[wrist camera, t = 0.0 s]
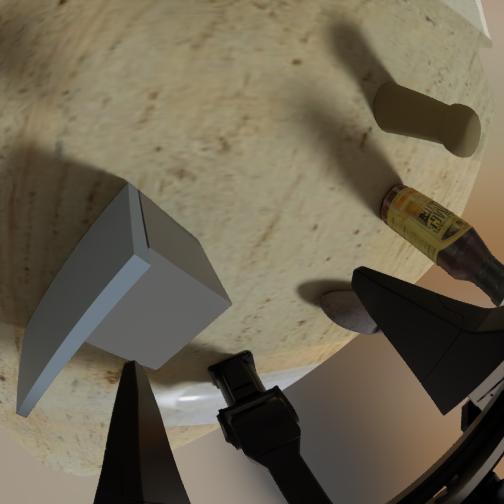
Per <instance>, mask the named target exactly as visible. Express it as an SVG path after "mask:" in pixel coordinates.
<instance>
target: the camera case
mask: <svg viewBox="0 0 504 504" xmlns="http://www.w3.org/2000/svg"><path fill="white" fill-rule="evenodd" d="M138 195H139V202H140V208H141V214H142V220H143V226H144V232H145V237H146V242H147V247H148V253H149V257H150V262H151V266H150V267H149V269H148V270H147V271H146V272H145V273H144V274H143V275H142V276H141V277H140V278H139V279H138V280H137V281H136V283H135V284H134V285H133V286H132V287H131V288H130V289H129V290H128V291H127V292H126V294H125V295H124V296H123V297H122V298H121V299H120V300H119V301H118V303H117V304H116V305H115V306H114V307H113V308H112V309H111V310H110V312H109V313H108V314H107V315H106V316H105V317H104V319H103V320H102V321H101V322H100V323H99V324H98V326H97V327H96V328H95V329H94V330H93V332H92V333H91V334H90V335H89V336H88V338H87V339H86V340H85V342H87V343H89V344H91V345H93V346H96V347H98V348H100V349H103V350H105V351H107V352H110V353H112V354H114V355H117V356H119V357H122V358H124V359H127V360H129V361H131V360H136V361H137V362H138V364H140V365H143V366H146V367H148V368H151V369H154V370H157V369H159V368H160V367H161V366H162V365H163V364H164V363H166V362H167V361H168V360H169V359H170V358H171V357H173V356H174V355H175V354H176V353H177V352H178V351H180V350H181V349H182V348H183V347H184V346H185V345H187V344H188V343H189V342H190V341H191V340H192V339H194V338H195V337H196V336H197V335H198V334H199V333H200V332H202V331H203V330H204V329H205V328H206V327H207V326H208V325H210V324H211V323H212V322H213V321H214V320H215V319H216V318H217V317H219V316H220V315H221V314H222V313H223V312H224V311H225V310H226V309H228V308H229V307H230V306H231V305H232V302H231V300H230V299H229V297H228V295H227V293H226V291H225V289H224V288H223V286H222V284H221V282H220V280H219V278H218V276H217V275H216V273H215V271H214V269H213V267H212V265H211V263H210V262H209V260H208V258H207V256H206V254H205V252H204V250H203V248H202V246H201V244H200V242H199V241H198V239H197V238H195V237H194V236H193V235H192V234H191V233H189V232H188V231H187V230H186V229H185V228H183V227H182V226H181V225H180V224H179V223H177V222H176V221H175V220H174V219H173V218H171V217H170V216H169V215H168V214H167V213H166V212H164V211H163V210H162V209H161V208H160V207H158V206H157V205H156V204H155V203H154V202H153V201H151V200H150V199H149V198H148V197H147V196H146V195H144V194H143V193H142V192H141V191H140V190H139V191H138Z"/></svg>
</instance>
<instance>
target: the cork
mask: <svg viewBox="0 0 504 504" xmlns="http://www.w3.org/2000/svg"><path fill="white" fill-rule="evenodd" d="M374 114H375V119H376V121H377V124H378V126H379V127H380V128H381V129H382V130H383V131H385V132H388V133H393V134H399V135H404V136H409V137H414V138H419V139H423V140H428V141H432V142H436V143H440V144H443V145H444V146H445V148H446V149H447V150H448V151H450V152H451V153H452V154H454V155H456V156H458V157H470V156H471V155H472V154H473V153H474V152H475V151H476V149H477V147H478V144H479V141H480V135H481V124H480V120H479V117H478V115H477V114H476V113H475V111H474V110H473V109H471V108H470V107H468V106H465V105H462V104H452V105H450V106H449V105H447V104H445V103H443V102H441V101H438V100H436V99H434V98H431V97H429V96H426V95H424V94H421V93H419V92H416V91H414V90H411V89H408V88H406V87H403V86H400V85H397V84H394V83H387V84H384V85H383V86H382V87H381V88H380V89H379V91H378V93H377V95H376V98H375V102H374Z"/></svg>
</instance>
